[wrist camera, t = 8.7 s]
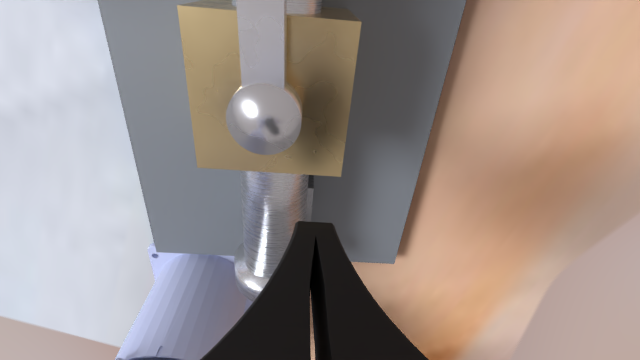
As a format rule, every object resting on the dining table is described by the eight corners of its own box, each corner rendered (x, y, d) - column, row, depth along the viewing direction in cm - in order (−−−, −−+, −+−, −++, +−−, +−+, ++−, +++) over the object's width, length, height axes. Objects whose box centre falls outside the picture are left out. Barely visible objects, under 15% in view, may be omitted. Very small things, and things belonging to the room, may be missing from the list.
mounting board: (391, 252, 27) (394, 263, 26) (162, 241, 26) (156, 252, 25) (536, -306, 12) (557, -332, 11) (28, -382, 11) (0, -418, 10)
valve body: (321, 243, 25) (323, 313, 19) (233, 239, 24) (212, 309, 19) (379, -277, 12) (430, -472, 7) (196, -304, 11) (102, -529, 6)
